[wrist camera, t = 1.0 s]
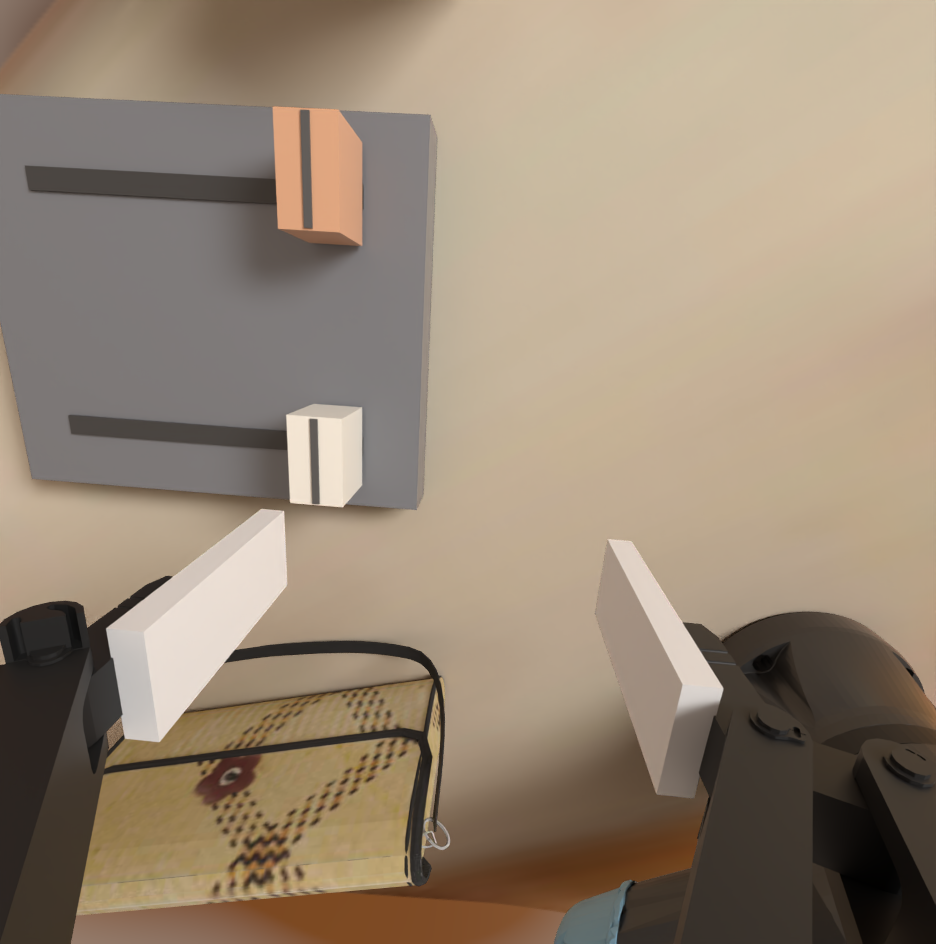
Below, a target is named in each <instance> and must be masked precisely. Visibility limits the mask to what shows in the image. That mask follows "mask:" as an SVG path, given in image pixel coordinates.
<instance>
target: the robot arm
mask: <svg viewBox="0 0 936 944" xmlns="http://www.w3.org/2000/svg"><path fill="white" fill-rule="evenodd" d="M286 586H287V566H286V544H285V521H284V511H280V510H269V509H260V510H259V511H258V512H257V513H255V514H254V515H253V516H251V517H250V518H249V519H247V520H246V521H245V522H244V523H242V524H241V525H240V526H238V527H237V528H236V529H234V530H233V531H232V532H231V533H229V534H228V535H227V536H225V537H224V538H223V539H221V540H220V541H219V542H218V543H216V544H215V545H214V546H212V547H211V548H210V549H209V550H207V551H206V552H205V553H203V554H202V555H201V556H199V557H198V558H197V559H196V560H194V561H193V562H192V563H190V564H189V565H188V566H186V567H185V568H184V569H183V570H181V571H180V572H179V573H177V574H176V575H175V576H173V577H172V576H165V577H163V578H161V579H159V580H156V581H154V582H152V583H149V584H147V585H145V586H144V587H143V588H141V589H140V590H138V591H137V592H136V593H134V594H133V595H132V596H131V597H130V599H126V600H125V601H123V602H122V603H121V604H119V605H118V608H114V609H113V610H111V611H110V612H109V613H107V614H106V615H104V616H103V617H102V618H100V619H99V620H98V621H96V622H95V623H94V624H92V625H91V626H89V627H88V628H87V624H86V619H85V614H84V608H83V606H82V605H80V604H79V603H77V602H70V601H57V602H48V603H44V604H40V605H35V606H32V607H29V608H27V609H24V610H21V611H19V612H17V613H15V614H13V615H11V616H10V617H8V618H6V619H4V620H3V621H2V622H1V623H0V641H1V645H2V650H3V654H4V658H5V662H6V664H5V665H0V944H71V939H72V934H73V928H74V923H75V918H76V913H77V908H78V903H79V898H80V893H81V888H82V882H83V877H84V872H85V867H86V862H87V857H88V851H89V846H90V841H91V836H92V831H93V826H94V821H95V815H96V810H97V805H98V800H99V795H100V790H101V784H102V779H103V774H104V769H105V764H106V759H107V753H108V748H109V745H108V739H107V733H106V732H107V730H108V729H109V728H110V727H111V726H112V725H113V724H114V723H115V722H116V721H117V720H118V719H119V718H120V717H121V719H122V725H123V730H124V736H125V739H133V740H143V741H152V742H160V741H161V740H162V739H163V737H164V736H165V735H166V734H167V732H168V731H169V730H170V729H171V727H172V726H173V725H174V724H175V723H176V721H177V720H178V719H179V718H180V716H181V715H182V714H183V713H184V712H185V710H186V709H187V708H188V707H189V705H190V704H191V703H192V702H193V700H194V699H195V698H196V697H197V696H198V694H199V693H200V692H201V691H202V689H203V688H204V687H205V686H206V684H207V683H208V682H209V681H210V680H211V678H212V677H213V676H214V675H215V673H216V672H217V671H218V670H219V668H220V667H221V666H222V665H223V664H224V662H225V661H226V660H227V659H228V657H229V656H230V655H231V654H232V652H233V651H234V650H235V649H236V648H237V646H238V645H239V644H240V643H241V641H242V640H243V639H244V638H245V637H246V635H247V634H248V633H249V632H250V630H251V629H252V628H253V627H254V625H255V624H256V623H257V622H258V621H259V619H260V618H261V617H262V616H263V614H264V613H265V612H266V611H267V609H268V608H269V607H270V606H271V605H272V603H273V602H274V601H275V600H276V598H277V597H278V596H279V595H280V593H281V592H282V591H283V590H284V589H285V587H286ZM595 615H596V618H597V621H598V624H599V627H600V630H601V633H602V636H603V639H604V642H605V645H606V648H607V650H608V653H609V656H610V659H611V662H612V665H613V668H614V671H615V674H616V677H617V680H618V683H619V686H620V689H621V692H622V695H623V697H624V700H625V703H626V706H627V709H628V712H629V715H630V718H631V721H632V724H633V727H634V730H635V733H636V736H637V739H638V742H639V745H640V747H641V750H642V753H643V756H644V759H645V762H646V765H647V768H648V771H649V774H650V777H651V780H652V783H653V786H654V789H655V792H656V794H657V795H665V796H674V797H684V798H693V799H694V797H695V793H696V789H697V785H698V782H699V778H700V777H701V779H702V781H703V783H704V786H705V788H706V790H707V792H708V794H709V798H708V802H707V805H706V809H705V812H704V816H703V820H702V823H701V827H700V830H699V834H698V837H697V839H698V842H697V846H696V851H695V855H694V859H693V863H692V868H690V869H686V870H682V871H678V872H675V873H671V874H667V875H664V876H660V877H656V878H652V879H649V880H645V881H641V882H636V881H632V880H628V881H625V882H623V883H622V884H621V886H620V888H617V889H614V890H612V891H609V892H606V893H603V894H600V895H597V896H594V897H591V898H588V899H586V900H583V901H580V902H579V903H577V904H575V905H574V906H573V907H572V908H570V909H569V910H568V912H567V913H566V914H565V916H564V917H563V919H562V921H561V924H560V926H559V928H558V931H557V934H556V937H555V941H554V944H936V708H935V706H934V705H933V704H932V703H931V701H930V700H929V699H928V698H927V697H926V695H925V693H924V689H923V687H922V684H921V682H920V680H919V678H918V676H917V675H916V673H915V672H914V670H913V668H912V667H911V666H910V664H909V663H908V662H907V661H906V660H905V659H904V657H903V656H902V655H901V654H900V653H899V652H898V651H896V650H895V649H894V648H893V647H892V646H890V645H889V644H888V643H887V642H886V641H884V640H883V639H882V638H881V637H879V636H878V635H877V634H876V633H874V632H873V631H872V630H870V629H869V628H867V627H866V626H864V625H862V624H860V623H858V622H856V621H854V620H851V619H849V618H846V617H843V616H839V615H834V614H829V613H821V612H797V613H789V614H783V615H778V616H774V617H771V618H768V619H764V620H762V621H759V622H757V623H754V624H752V625H750V626H748V627H746V628H744V629H742V630H741V631H739V632H737V633H736V634H734V635H733V636H731V637H730V638H729V639H727V640H726V641H725V642H724V643H722V642H721V641H720V639H719V638H718V637H717V636H716V635H715V634H713V633H712V632H711V631H709V630H708V629H707V628H705V627H704V626H703V625H702V624H694V623H683V622H682V621H681V620H680V618H679V616H678V615H677V613H676V612H675V610H674V608H673V607H672V605H671V604H670V602H669V600H668V599H667V597H666V596H665V594H664V592H663V591H662V589H661V588H660V586H659V584H658V583H657V581H656V580H655V578H654V576H653V575H652V573H651V572H650V570H649V568H648V567H647V565H646V564H645V562H644V560H643V559H642V557H641V556H640V554H639V552H638V551H637V549H636V548H635V546H634V544H633V543H632V541H625V540H613V539H607V544H606V550H605V556H604V562H603V568H602V574H601V580H600V586H599V592H598V598H597V604H596V610H595Z"/></svg>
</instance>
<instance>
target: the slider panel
mask: <svg viewBox="0 0 936 944" xmlns="http://www.w3.org/2000/svg"><path fill="white" fill-rule="evenodd" d="M339 111H340V110H339ZM340 113H341V114H342V115H343V117H344V118H345V119H346V121H347V122H348V124H349V125H350V126H351V128H352V129H353V130H354V132H355V133H356V134H357V136H358V137H359V139H360V140H361V141H362V246H352V245H335V244H319V243H308V242H306V241H304V240H302V239H299V238H297V237H295V236H293V235H291V234H288V233H286V232H284V231H282V230H280V229H278V218H277V196H276V173H275V151H274V128H273V107H257V106H236V105H215V104H195V103H174V102H153V101H133V100H112V99H91V98H70V97H50V96H29V95H8V94H0V323H1V328H2V333H3V338H4V343H5V347H6V352H7V357H8V362H9V367H10V372H11V377H12V382H13V387H14V392H15V397H16V402H17V406H18V411H19V416H20V421H21V426H22V431H23V436H24V441H25V446H26V451H27V456H28V461H29V466H30V470H31V475H32V479H41V480H54V481H66V482H78V483H91V484H103V485H115V486H127V487H140V488H152V489H164V490H177V491H189V492H201V493H214V494H226V495H238V496H251V497H263V498H275V499H288V500H290V488H289V465H288V443H287V420H286V415H287V414H289V413H292V412H294V411H297V410H299V409H302V408H304V407H307V406H309V405H312V404H324V405H338V406H352V407H362V486H361V487H360V488H359V489H358V491H357V492H356V493H355V494H354V495H353V496H352V497H351V499H350V500H349V501H348V502H347V503H346V504H349V505H362V506H374V507H386V508H399V509H411V510H417V508H418V506H419V504H420V501H421V499H422V497H423V494H424V468H425V442H426V416H427V391H428V365H429V339H430V313H431V288H432V262H433V236H434V210H435V185H436V159H437V134H436V131H435V128H434V125H433V122H432V118H431V115H423V114H402V113H381V112H361V111H340Z"/></svg>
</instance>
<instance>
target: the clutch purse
mask: <svg viewBox="0 0 936 944" xmlns="http://www.w3.org/2000/svg"><path fill="white" fill-rule="evenodd" d="M316 653H370V654H382V655H390V656H396V657H402V658H407V659H411V660H414V661H416V662H418V663H421V664H422V665H423V666H424V667H425V668H426V669H427V670H428V671H429V673H430V675H431V677H432V678H433V679H427V680H420V681H412V682H405V683H398V684H391V685H384V686H377V687H369V688H362V689H355V690H348V691H341V692H334V693H327V694H319V695H312V696H305V697H298V698H291V699H284V700H276V701H269V702H262V703H255V704H248V705H241V706H234V707H226V708H219V709H212V710H205V711H198V712H191V713H183V714H182V715H181V716H180V718H179V719H178V720H177V721H176V723H175V724H174V725H173V726H172V727H171V729H170V730H169V731H168V732H167V734H166V735H165V736H164V737H163V739H162V740H161V741H160V742H152V741H143V740H133V739H125V736H124V735H123V736H122V737H121V738H120V739H119V740H118V741H117V742H116V744H115V745H114V746H113V747H112V748H111V749H110V750H109V751H108V753H107V759H106V764H105V769H104V774H103V779H102V784H101V790H100V795H99V800H98V805H97V810H96V815H95V821H94V826H93V831H92V836H91V841H90V846H89V851H88V857H87V862H86V867H85V872H84V877H83V882H82V888H81V893H80V898H79V903H78V908H77V913H76V915H86V914H96V913H109V912H120V911H131V910H142V909H153V908H165V907H176V906H186V905H198V904H209V903H220V902H232V901H242V900H254V899H265V898H275V897H276V898H277V897H288V896H298V895H310V894H320V893H333V892H344V891H355V890H366V889H377V888H389V887H400V886H413V885H416V886H421V885H423V884H425V883H426V882H427V881H428V878H429V875H430V872H431V869H432V868H431V865H430V864H429V863H428V862H427V860H426V859H425V858H424V857H423V855H424V850H425V848H430V847H433V846H434V847H435V848H437V849H440V850H444V849H446V848H448V846H449V844H450V837H449V834H448V832H447V830H446V828H445V827H444V826H443V825H442V824H441V823H440V822H439V821H438V820H437V814H438V804H439V795H440V786H441V776H442V766H443V754H444V737H445V713H444V705H445V688H444V681H443V679H442V677H441V676H438V672H437V670H436V668H435V667H434V665H433V663H432V662H431V660H430V659H429V658H428V657H427V656H426V655H424V654H423V653H422V652H421V651H418V650H416V649H413V648H411V647H406V646H401V645H395V644H388V643H378V642H364V641H327V642H307V643H291V644H276V645H266V646H260V647H253V648H246V649H239V650H234V651H233V652H232V654H231V655H230V656H229V657H228V659H227V660H226V661H225V662H224V663H226V662H232V661H239V660H245V659H252V658H260V657H270V656H282V655H299V654H316ZM439 747H440V753H439ZM438 753H439V766H438V776H437V785H436V794H435V803H434V812H433V818H431V817H430V810H431V803H432V796H433V789H434V781H435V774H436V767H437V760H438ZM429 821H432V822H433V824H434V832H436V827H437V825H439V826H440V827H441V829H442V830H443V831H444V833H445V835H446V838H447V844H446V845H445V846H443V847H441V846H438V845H436V844H437V842H436V839H435V836H434V833H433V832H432V831H428V825H429ZM428 833H431V834H432V837H433V840H434V842H433V841H432V840H431V839H430V838H429V836H428V835H427V834H428ZM426 839H427V840H428V841H429V842H430V843H431V844H432V845H429V846H425V844H426Z"/></svg>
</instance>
